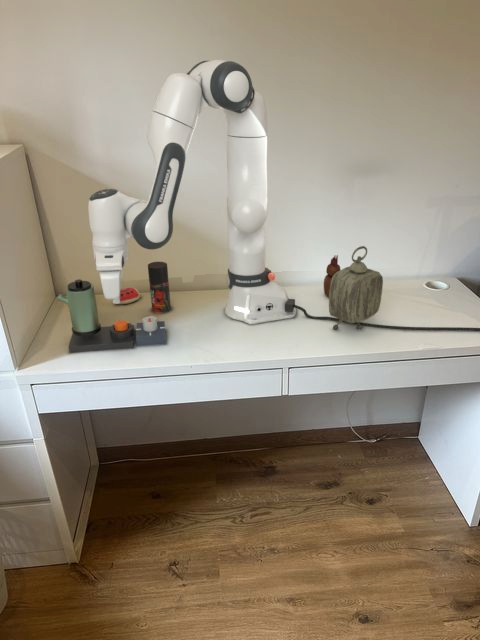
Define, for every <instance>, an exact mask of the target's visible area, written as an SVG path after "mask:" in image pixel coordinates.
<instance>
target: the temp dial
mask: <svg viewBox="0 0 480 640" xmlns="http://www.w3.org/2000/svg"><path fill="white" fill-rule="evenodd" d="M141 320H142V321H141V323H143V330H144V331H147V332H152V331H155V330H157V328H158V327H157V322H158V319H157V317H156V316H153V315H149V316H145V317H143V318H142V319H141Z"/></svg>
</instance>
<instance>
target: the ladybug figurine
mask: <svg viewBox="0 0 480 640" xmlns="http://www.w3.org/2000/svg"><path fill="white" fill-rule="evenodd" d="M140 298H141V292H140V291H139V289H137V288H135V287H125V288H123V289H121V291H120V303H119V304H118V305H128V304H131V303H134V302H136V301H138V300H139V299H140Z"/></svg>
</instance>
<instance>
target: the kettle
mask: <svg viewBox="0 0 480 640" xmlns="http://www.w3.org/2000/svg"><path fill="white" fill-rule="evenodd" d="M65 294H66V296H64V295H62V294H60V293H59V294H58V296H57V298H56V300H58V301H60V302H61V303H64V304H65V305H68V310H69V316H70V320H71V321H70V322H71V332H72V334H74V335H77V336H90V335H94V334H96V333H98V332H99V331H100V330H101V327H102V325H101V323H100V319H99V313H98V307H97V301H96V293H95V288H94V284H93V283H92V282H90V281H88V280H82V279H75V280H74V281H72V282H70V283H68V284H67V285H66V286H65Z"/></svg>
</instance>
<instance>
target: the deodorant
mask: <svg viewBox="0 0 480 640" xmlns="http://www.w3.org/2000/svg"><path fill="white" fill-rule="evenodd" d="M147 273H148V282H149V283H148V284H149V292H150V293H149V294H150V302H151V311H152V313H156V314H165V313H168V312H170V311H171V310H172V307H171V305H172V304H171V293H170V282H169V272H168V263H167V262H165V261H153V262H149V263H148V264H147Z"/></svg>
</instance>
